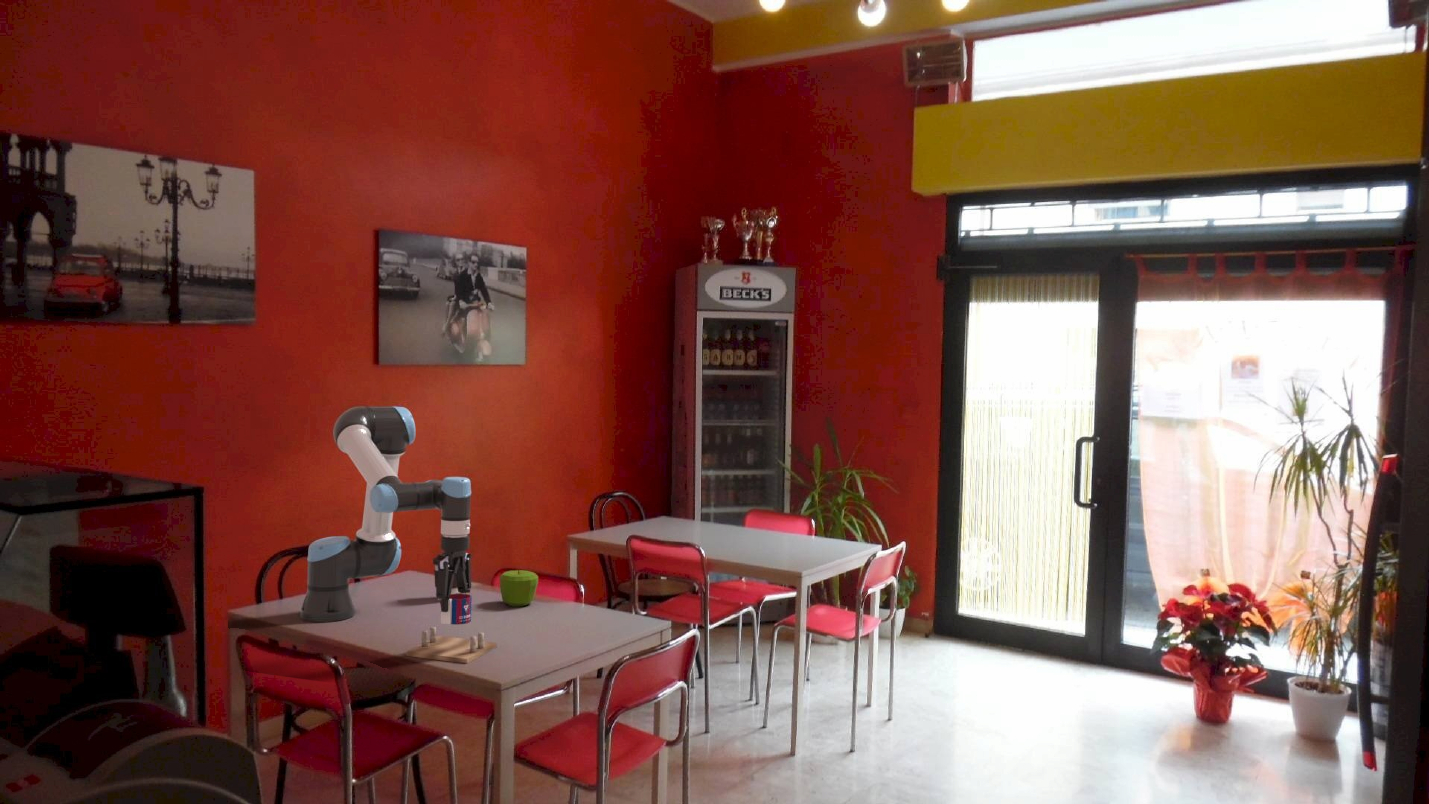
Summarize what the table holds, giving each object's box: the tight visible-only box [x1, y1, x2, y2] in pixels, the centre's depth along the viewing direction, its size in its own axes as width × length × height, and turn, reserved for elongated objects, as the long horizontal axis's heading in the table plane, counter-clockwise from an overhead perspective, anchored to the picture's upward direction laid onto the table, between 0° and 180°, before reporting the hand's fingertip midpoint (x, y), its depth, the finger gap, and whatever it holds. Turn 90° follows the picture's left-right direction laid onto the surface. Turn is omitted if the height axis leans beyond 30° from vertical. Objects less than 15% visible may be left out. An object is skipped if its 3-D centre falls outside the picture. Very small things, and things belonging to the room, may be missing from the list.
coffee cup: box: [432, 551, 459, 601], centre depth 321 cm, size 10×10×15 cm
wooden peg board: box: [405, 626, 498, 664], centre depth 263 cm, size 18×16×5 cm
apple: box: [499, 569, 539, 607], centre depth 317 cm, size 12×12×11 cm
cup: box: [439, 593, 472, 625], centre depth 264 cm, size 7×10×7 cm
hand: (453, 619), depth 263 cm, fingers closed on cup, 7 cm apart
